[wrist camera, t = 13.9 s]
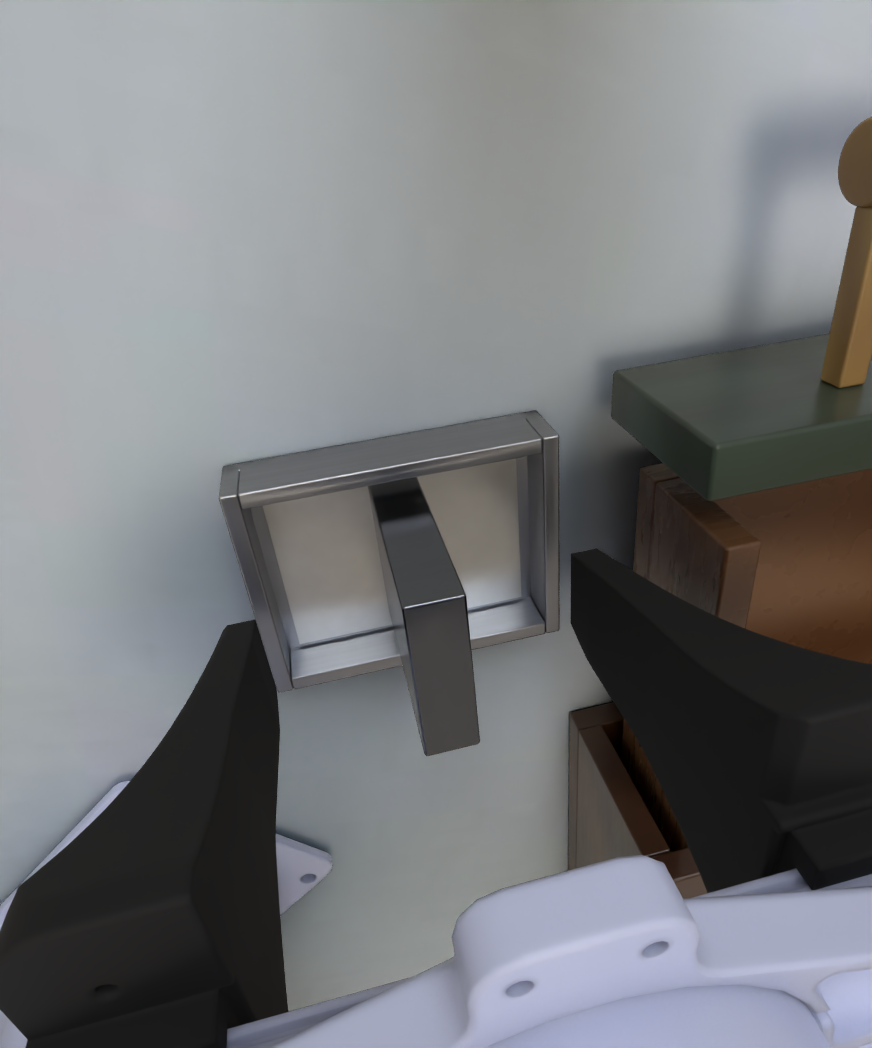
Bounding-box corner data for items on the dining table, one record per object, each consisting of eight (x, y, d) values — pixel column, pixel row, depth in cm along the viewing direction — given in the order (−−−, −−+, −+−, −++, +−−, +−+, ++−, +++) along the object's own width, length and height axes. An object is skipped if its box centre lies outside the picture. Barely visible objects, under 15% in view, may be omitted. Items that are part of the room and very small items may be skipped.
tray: (222, 465, 16) (204, 606, 11) (536, 409, 17) (636, 518, 12) (277, 652, 19) (280, 822, 14) (540, 596, 20) (621, 738, 15)
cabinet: (568, 711, 23) (657, 886, 17) (931, 625, 24) (1108, 760, 19) (567, 965, 31) (625, 1130, 26) (833, 888, 33) (937, 1029, 28)
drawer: (620, 135, 13) (754, 141, 10) (1160, 66, 15) (1450, 49, 11) (594, 798, 24) (653, 920, 20) (909, 717, 25) (1016, 817, 22)
